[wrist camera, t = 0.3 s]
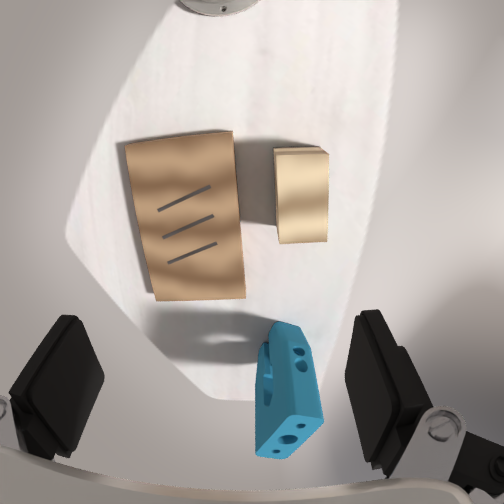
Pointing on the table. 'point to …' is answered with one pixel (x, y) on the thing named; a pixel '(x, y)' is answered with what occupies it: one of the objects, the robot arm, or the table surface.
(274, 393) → the block
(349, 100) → the table surface
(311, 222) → the block
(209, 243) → the oak board
